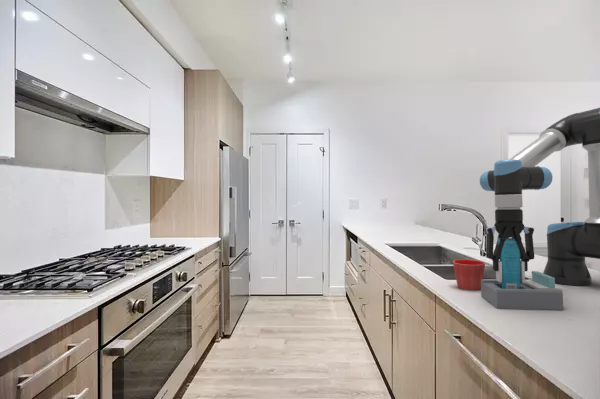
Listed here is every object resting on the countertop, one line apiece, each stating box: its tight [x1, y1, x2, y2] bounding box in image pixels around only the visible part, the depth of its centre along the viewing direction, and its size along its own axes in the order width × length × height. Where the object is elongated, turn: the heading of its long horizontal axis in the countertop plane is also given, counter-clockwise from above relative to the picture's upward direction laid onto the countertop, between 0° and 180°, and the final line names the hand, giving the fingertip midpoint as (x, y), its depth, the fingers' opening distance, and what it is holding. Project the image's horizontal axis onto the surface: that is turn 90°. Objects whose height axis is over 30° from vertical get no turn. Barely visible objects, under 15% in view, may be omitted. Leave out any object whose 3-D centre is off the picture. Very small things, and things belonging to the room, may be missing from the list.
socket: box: [480, 279, 564, 311], centre depth 108 cm, size 18×13×6 cm
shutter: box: [524, 270, 567, 292], centre depth 107 cm, size 7×10×4 cm
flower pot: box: [452, 259, 486, 291], centre depth 128 cm, size 11×11×10 cm
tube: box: [497, 237, 521, 289], centre depth 108 cm, size 7×5×19 cm, turn 96°
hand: (510, 281), depth 109 cm, fingers closed on tube, 6 cm apart
